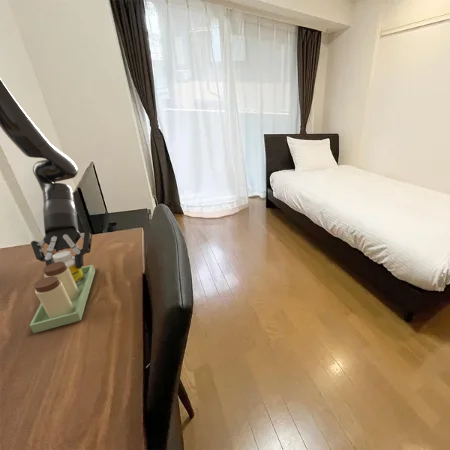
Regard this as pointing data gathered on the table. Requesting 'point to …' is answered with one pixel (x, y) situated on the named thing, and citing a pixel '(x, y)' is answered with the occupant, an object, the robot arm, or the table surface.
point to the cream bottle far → (53, 297)
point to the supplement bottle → (69, 265)
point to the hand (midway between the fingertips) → (66, 270)
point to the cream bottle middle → (63, 277)
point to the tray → (41, 317)
